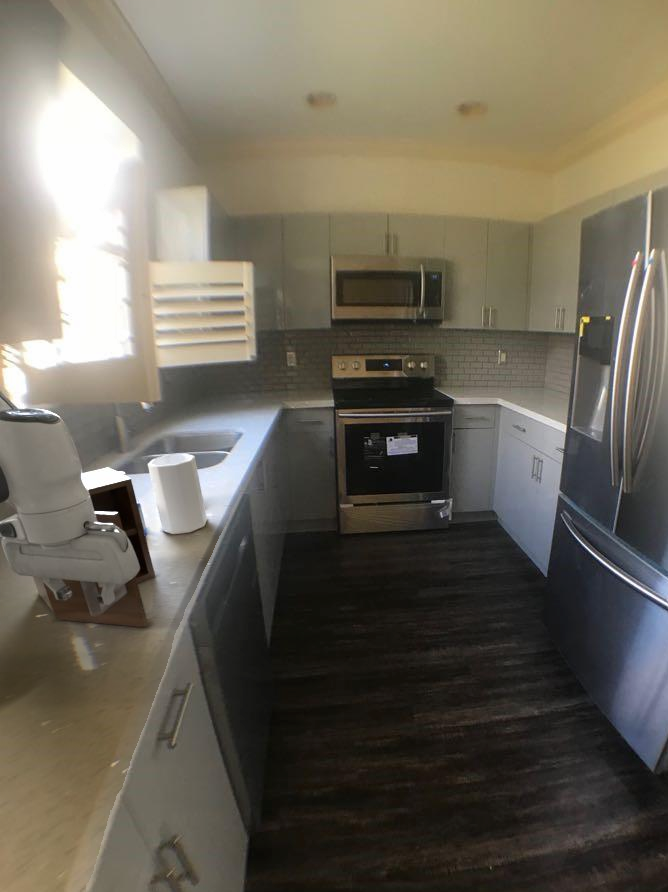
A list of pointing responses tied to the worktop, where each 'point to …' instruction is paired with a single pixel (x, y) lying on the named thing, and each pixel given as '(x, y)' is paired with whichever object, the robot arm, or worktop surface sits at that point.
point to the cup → (177, 493)
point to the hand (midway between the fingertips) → (86, 600)
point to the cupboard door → (86, 604)
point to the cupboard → (112, 496)
